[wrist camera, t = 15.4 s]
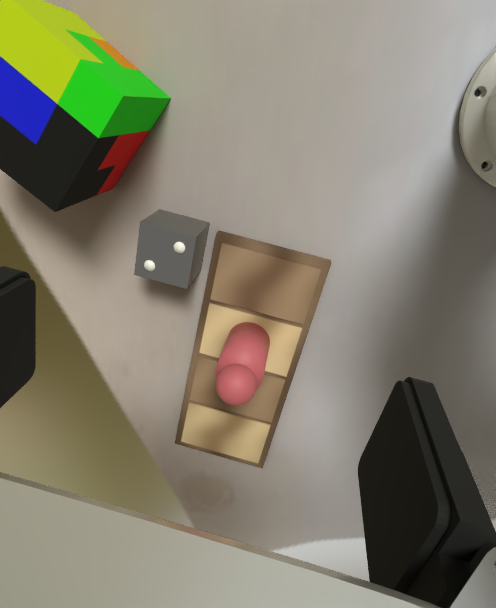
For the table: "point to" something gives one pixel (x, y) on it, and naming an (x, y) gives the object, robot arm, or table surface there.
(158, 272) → the die
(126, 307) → the table surface
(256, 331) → the pawn
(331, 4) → the table surface
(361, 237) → the table surface
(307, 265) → the board
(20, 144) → the puzzle toy
